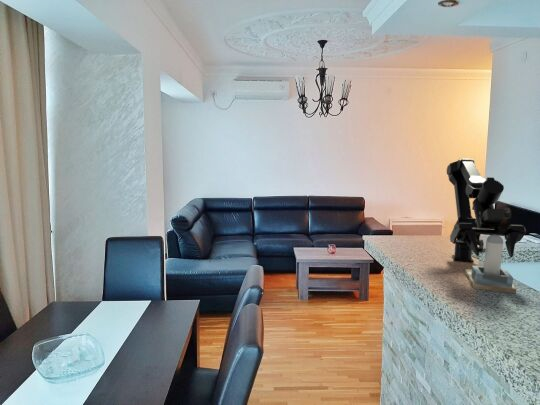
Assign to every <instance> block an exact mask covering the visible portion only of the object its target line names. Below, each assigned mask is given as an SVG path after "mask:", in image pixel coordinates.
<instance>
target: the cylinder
mask: <svg viewBox="0 0 540 405" xmlns="http://www.w3.org/2000/svg"><path fill="white" fill-rule="evenodd" d="M503 248H504V240H503V238H502V236H499V235H488V237H487V238H486V241H485V248H484V249H485V253H484V260H483V267H484V269H483V273H485V274H495V275H500V269H501V268H502V260H503V258H502V257H503Z"/></svg>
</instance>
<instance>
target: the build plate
mask: <svg viewBox="0 0 540 405" xmlns="http://www.w3.org/2000/svg"><path fill="white" fill-rule="evenodd" d="M484 245H485V242H484V239H479V243H478V245H477V246H478V249H479V253H484V254H485V249H486V248H484Z"/></svg>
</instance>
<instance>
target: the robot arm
mask: <svg viewBox="0 0 540 405" xmlns="http://www.w3.org/2000/svg"><path fill="white" fill-rule="evenodd" d="M446 175H447V177H448V180H449V182H450V183H451V184H452V185H453V188H454V196H455V198H454V199H455V206H456V214H457V220H456V222H455V224H454V225H453V229H452V231H451V234H450V235H449V241H450V242H451V244H454V254H452V255H451V257H452V259H453V261H458V262H468V263H469V262H470V263H473V262H474V259H473V257H472V254H473V253H474V255H475V256H476V257H479V255H480V252H479V249H478V247H479V245H478V243H479V239H480V238H481V235H483V236H490V235H499V236H500V237H504V240H505V246H506V250H507V254H508V256H509V258H511V259H512V258H514V253H515V252H514V251H515V247H516V244H517V243H518V242H521V241H522V239H523V237H525V235H526V234H527V229H526V227H525V226H524V225H522V224H509V225H508V226H507V228H500V227H502V226H503V221H505V220H510V219H511V218H512V210H511V209H510V207H503V208H495V206H494V204H497V203H498V200H499V198H500V197H501V195H502V193H503V191H504V188H505V187H504V184H503V183H501V182H500V181H498V180H497V179H495V177H490V176H489V177H488V176H487V177H486V178H485V177H482V176H481V173H480V172H479V170H478V168H477V166H476V165H475V160H474V159H472V158H459V159H457V161H453V162H450V163H449V164H448V165H447V168H446ZM470 199H473V201H472V208H471V201H470ZM471 209H472V210H473V212H474V217H475V218H474V217H473V215H472V210H471ZM480 240H481V239H480Z"/></svg>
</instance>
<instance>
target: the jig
mask: <svg viewBox="0 0 540 405" xmlns="http://www.w3.org/2000/svg"><path fill="white" fill-rule="evenodd" d="M483 269H484V265H483V266H482V265H471V269H469V268H465V271H464V273H465V275H466V277H467V279H468V281H469V283H470V285H471V287H472V288H473V289H475V290H483V291H493V292H503V293H513V294H516V293H517V287H516V286H515V285H514V284H513V282H514V277H513V276H512V274H511V273H510V272H509V271H508V270H507V269H506V268H504V267H501V269H500V275H495V274H485V273H483Z"/></svg>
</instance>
